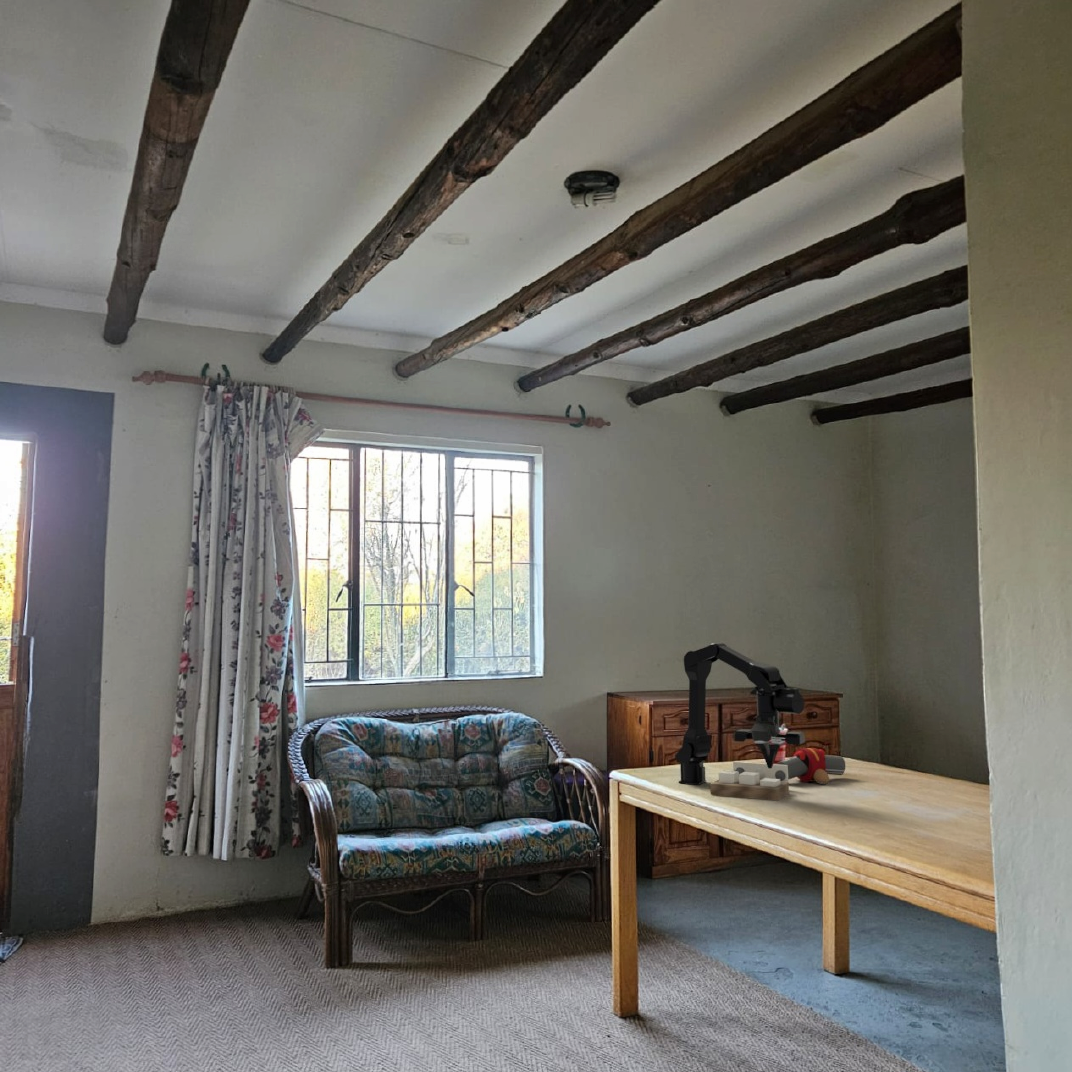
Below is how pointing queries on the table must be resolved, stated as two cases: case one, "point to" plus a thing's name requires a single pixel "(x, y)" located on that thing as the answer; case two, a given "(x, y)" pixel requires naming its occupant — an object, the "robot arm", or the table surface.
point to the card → (763, 770)
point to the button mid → (749, 778)
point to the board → (750, 790)
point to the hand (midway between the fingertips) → (770, 768)
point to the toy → (813, 765)
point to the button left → (729, 777)
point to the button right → (770, 782)
